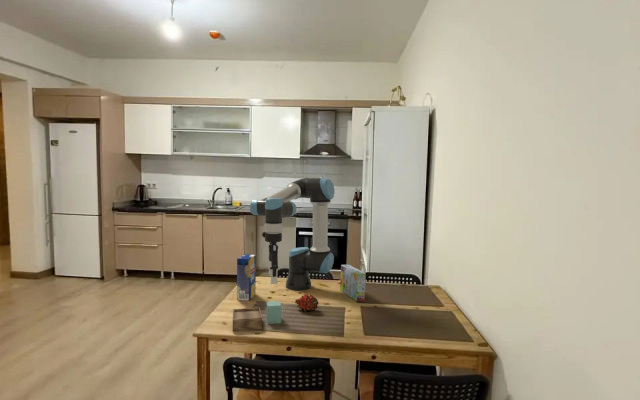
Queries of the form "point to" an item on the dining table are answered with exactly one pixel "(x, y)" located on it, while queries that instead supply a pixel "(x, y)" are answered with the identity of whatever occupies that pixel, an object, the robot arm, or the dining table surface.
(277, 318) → the block
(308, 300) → the dragon fruit
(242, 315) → the tray
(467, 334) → the dining table surface
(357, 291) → the snack box
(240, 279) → the beverage box
